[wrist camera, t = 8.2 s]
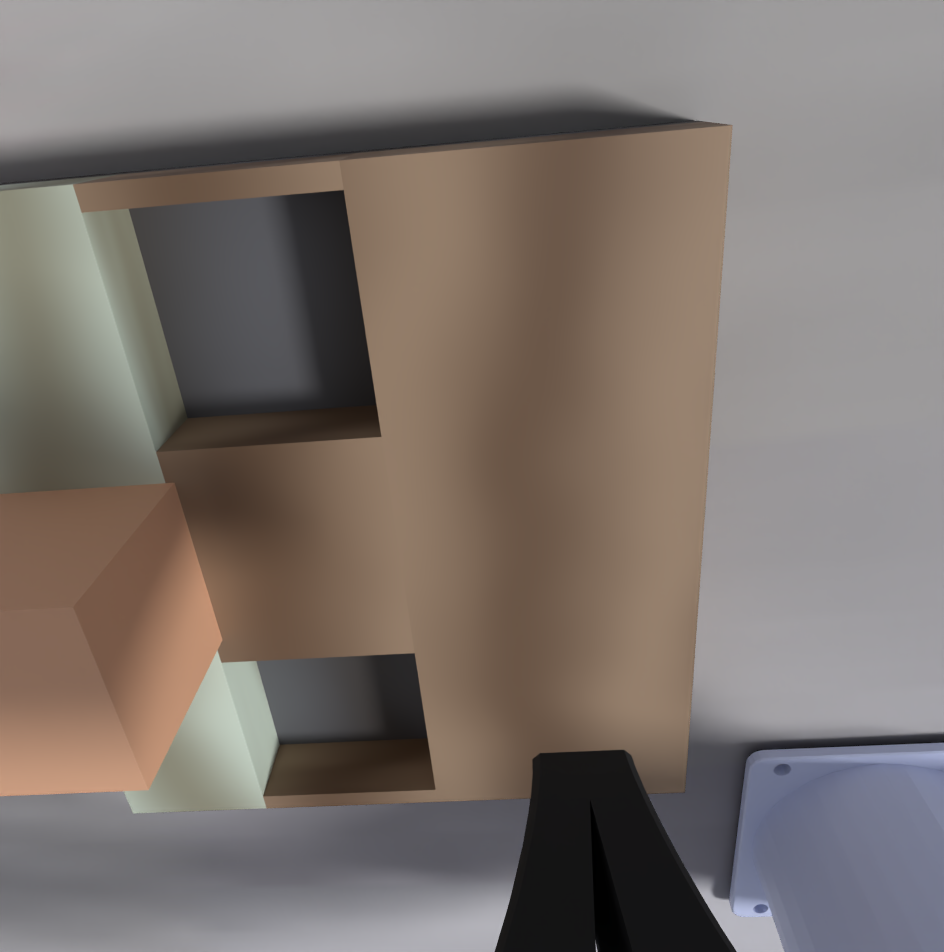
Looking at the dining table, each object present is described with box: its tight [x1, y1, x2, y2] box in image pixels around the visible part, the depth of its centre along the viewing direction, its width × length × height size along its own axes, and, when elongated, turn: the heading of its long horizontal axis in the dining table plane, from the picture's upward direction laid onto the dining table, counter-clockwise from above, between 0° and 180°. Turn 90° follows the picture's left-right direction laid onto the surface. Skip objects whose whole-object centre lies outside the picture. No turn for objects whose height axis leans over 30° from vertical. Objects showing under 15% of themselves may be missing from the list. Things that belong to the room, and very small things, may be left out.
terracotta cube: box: [0, 483, 222, 796], centre depth 16 cm, size 4×4×4 cm
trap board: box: [0, 121, 732, 813], centre depth 18 cm, size 16×17×2 cm
